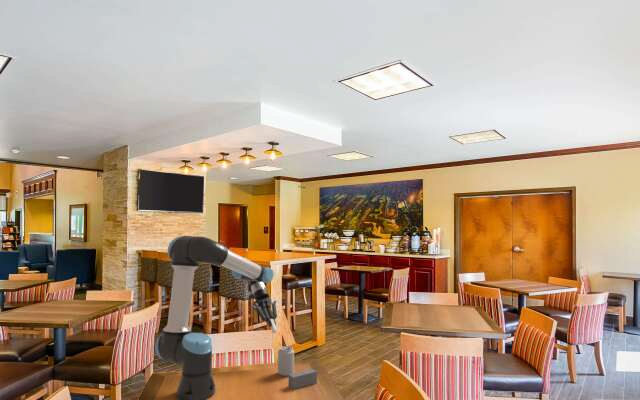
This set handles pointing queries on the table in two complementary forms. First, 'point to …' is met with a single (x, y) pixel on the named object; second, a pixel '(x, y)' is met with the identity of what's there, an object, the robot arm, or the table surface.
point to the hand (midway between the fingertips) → (275, 331)
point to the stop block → (302, 379)
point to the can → (286, 360)
